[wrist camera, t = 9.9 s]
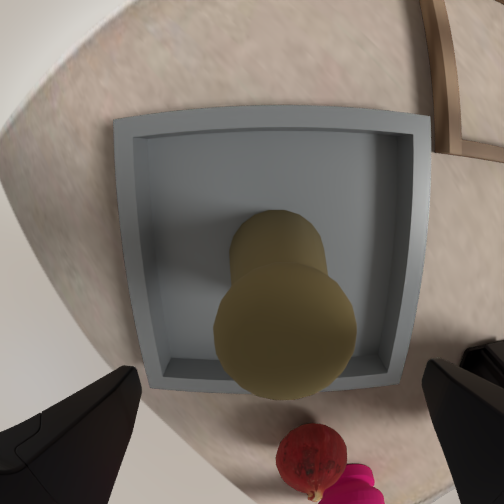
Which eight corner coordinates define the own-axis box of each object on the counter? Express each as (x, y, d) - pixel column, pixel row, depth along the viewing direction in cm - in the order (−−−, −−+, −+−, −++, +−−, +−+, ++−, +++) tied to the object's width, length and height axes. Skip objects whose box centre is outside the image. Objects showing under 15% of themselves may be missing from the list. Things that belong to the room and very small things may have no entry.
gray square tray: (387, 361, 23) (399, 383, 20) (160, 364, 24) (150, 388, 21) (409, 120, 18) (430, 116, 15) (133, 123, 19) (113, 119, 16)
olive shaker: (213, 277, 21) (169, 387, 10) (254, 192, 19) (241, 235, 9) (296, 314, 21) (316, 439, 11) (341, 236, 20) (413, 318, 9)
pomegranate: (269, 410, 25) (269, 486, 17) (337, 398, 24) (355, 472, 17) (281, 449, 26) (282, 518, 19) (341, 439, 26) (355, 506, 18)
